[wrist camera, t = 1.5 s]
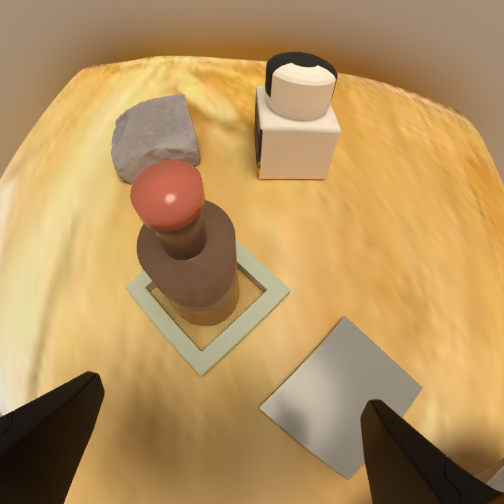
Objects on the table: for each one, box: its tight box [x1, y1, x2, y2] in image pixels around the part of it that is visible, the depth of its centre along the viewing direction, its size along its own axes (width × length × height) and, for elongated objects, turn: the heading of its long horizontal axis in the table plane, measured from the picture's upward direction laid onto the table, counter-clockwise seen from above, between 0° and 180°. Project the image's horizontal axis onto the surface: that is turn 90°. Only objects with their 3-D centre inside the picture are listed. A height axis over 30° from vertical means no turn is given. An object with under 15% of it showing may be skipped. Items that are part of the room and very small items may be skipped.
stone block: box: [111, 94, 200, 184], centre depth 30 cm, size 12×5×10 cm
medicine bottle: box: [254, 52, 341, 179], centre depth 25 cm, size 7×7×12 cm
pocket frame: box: [125, 240, 290, 376], centre depth 23 cm, size 10×10×1 cm
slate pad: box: [259, 316, 422, 480], centre depth 20 cm, size 10×10×1 cm
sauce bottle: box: [130, 160, 239, 326], centre depth 17 cm, size 5×5×14 cm
